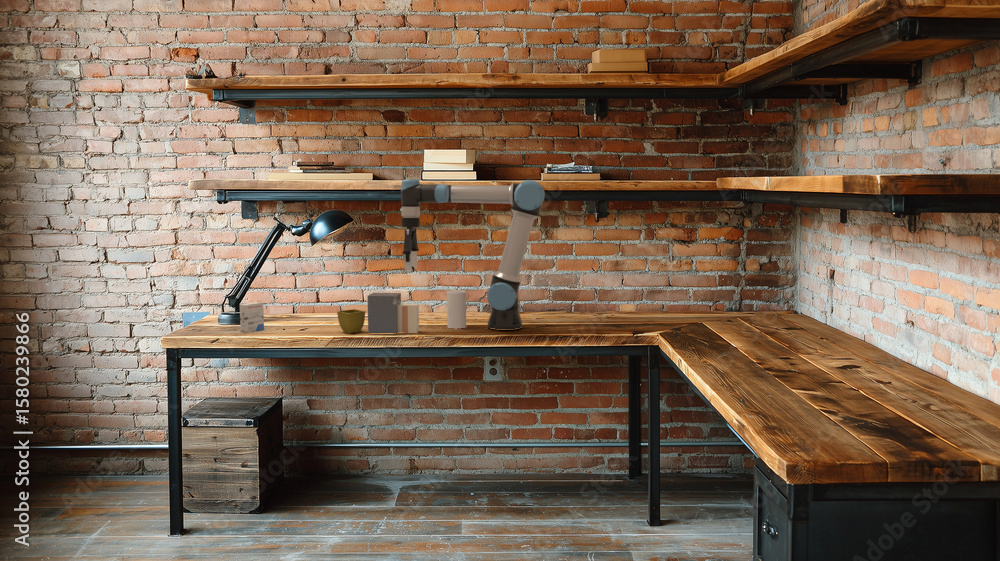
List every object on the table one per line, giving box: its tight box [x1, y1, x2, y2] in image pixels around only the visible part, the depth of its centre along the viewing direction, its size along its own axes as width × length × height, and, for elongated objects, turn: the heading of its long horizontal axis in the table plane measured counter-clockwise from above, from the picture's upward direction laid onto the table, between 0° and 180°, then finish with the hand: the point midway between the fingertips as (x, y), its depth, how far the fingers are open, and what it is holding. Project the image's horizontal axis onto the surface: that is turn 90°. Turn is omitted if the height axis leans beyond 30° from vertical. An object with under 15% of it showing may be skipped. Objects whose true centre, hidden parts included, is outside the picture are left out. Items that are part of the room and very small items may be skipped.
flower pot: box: [336, 308, 366, 334], centre depth 309 cm, size 9×9×9 cm
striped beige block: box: [397, 302, 420, 334], centre depth 309 cm, size 12×5×12 cm, turn 87°
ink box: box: [239, 301, 265, 333], centre depth 312 cm, size 9×5×12 cm, turn 141°
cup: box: [446, 289, 467, 330], centre depth 319 cm, size 8×8×16 cm
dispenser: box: [367, 292, 402, 335], centre depth 309 cm, size 12×10×16 cm
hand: (411, 268), depth 306 cm, fingers open, 13 cm apart
